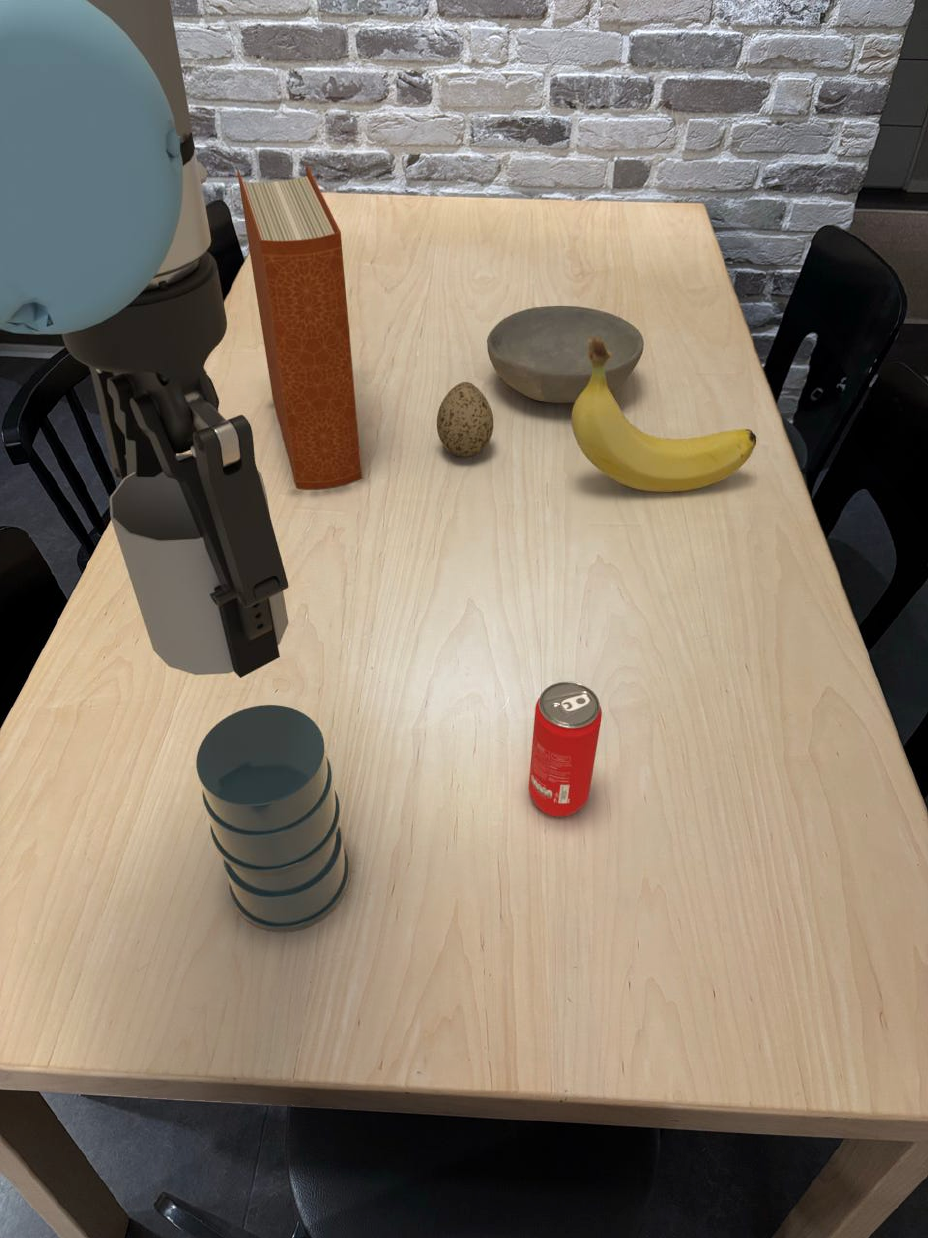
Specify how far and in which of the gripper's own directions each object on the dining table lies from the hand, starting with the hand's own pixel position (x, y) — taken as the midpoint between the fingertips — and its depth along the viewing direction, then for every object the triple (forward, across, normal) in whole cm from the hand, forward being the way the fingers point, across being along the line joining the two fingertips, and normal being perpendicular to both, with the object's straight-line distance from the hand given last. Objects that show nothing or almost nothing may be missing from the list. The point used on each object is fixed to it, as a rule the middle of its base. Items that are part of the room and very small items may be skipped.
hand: (218, 622), depth 57 cm
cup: (+1, 0, 0) cm, 1 cm away
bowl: (+26, +39, -71) cm, 85 cm away
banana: (+26, +14, -63) cm, 70 cm away
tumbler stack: (+26, -3, 0) cm, 26 cm away
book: (+26, +50, -37) cm, 68 cm away
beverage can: (+26, -11, -22) cm, 36 cm away
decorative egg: (+26, +35, -50) cm, 66 cm away
